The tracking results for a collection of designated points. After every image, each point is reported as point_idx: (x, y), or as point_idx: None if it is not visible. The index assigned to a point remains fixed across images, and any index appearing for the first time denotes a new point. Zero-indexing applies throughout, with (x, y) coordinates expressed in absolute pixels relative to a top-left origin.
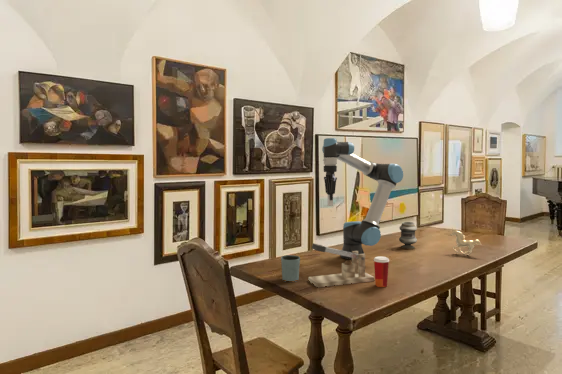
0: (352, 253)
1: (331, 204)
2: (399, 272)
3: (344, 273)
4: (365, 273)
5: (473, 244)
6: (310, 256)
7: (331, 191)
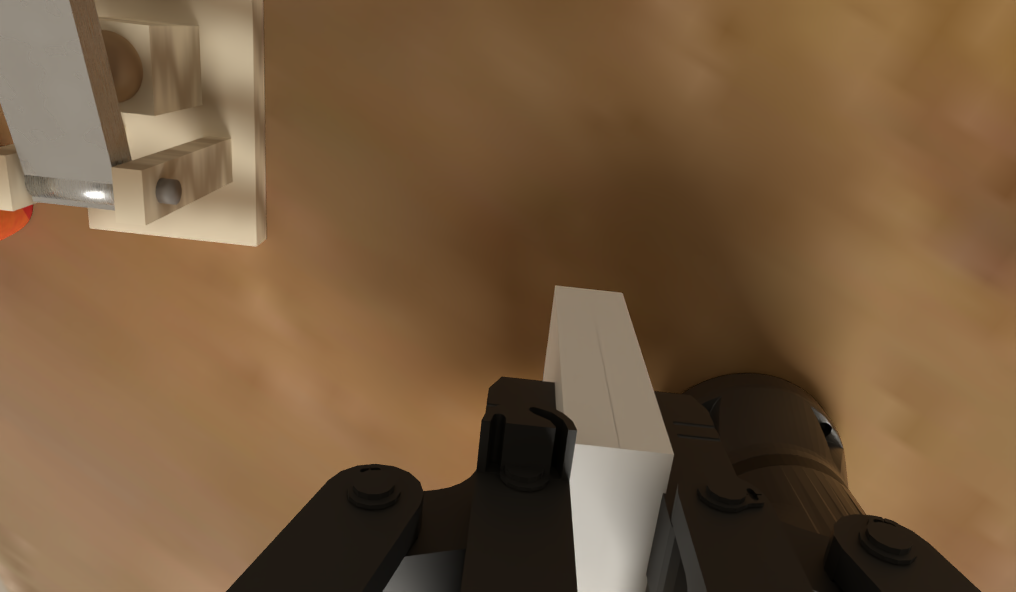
0: (24, 107)
1: (544, 372)
2: (233, 478)
3: (134, 20)
4: (192, 226)
5: None
6: (974, 165)
7: (286, 538)
